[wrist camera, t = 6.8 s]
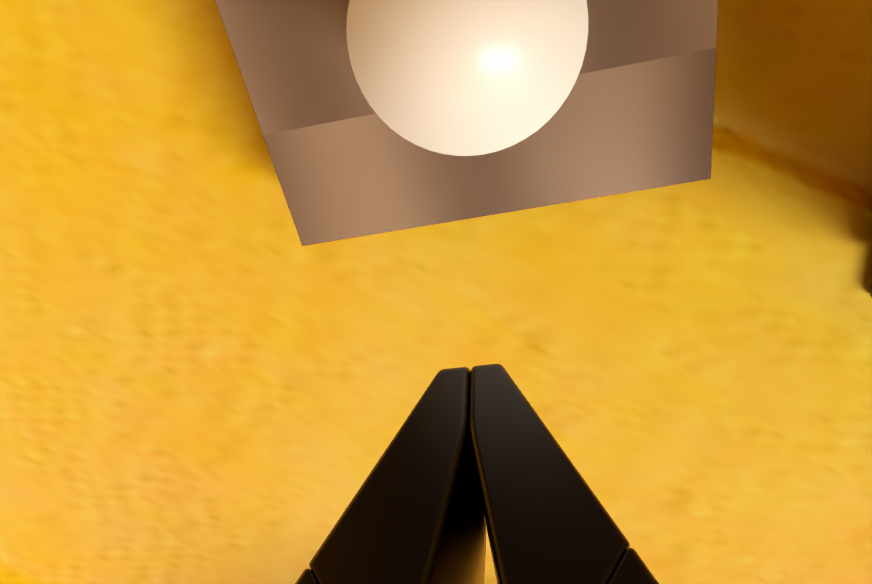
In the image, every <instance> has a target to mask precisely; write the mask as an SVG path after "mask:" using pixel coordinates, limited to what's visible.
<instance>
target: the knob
mask: <svg viewBox="0 0 872 584" xmlns="http://www.w3.org/2000/svg"><path fill="white" fill-rule="evenodd" d="M346 33H347V47H348V52H349V57H350V62H351V66H352V69H353V72H354V75H355V78H356V81H357V83H358V85H359V87H360V89H361V91H362V93H363V95H364V97H365V98H366V100H367V101H368V103H369V105H370V106H371V108H372V109H373V110H374V111H375V113H376V114H377V115H378V116H379V117H380V119H381V120H382V121H383V122H385V123H386V124H387V125H388V126H389V127H390V128H391V129H392V130H393V131H395V132H396V133H397V134H399V135H400V136H401V137H403V138H404V139H406V140H408V141H410V142H411V143H413V144H415V145H417V146H420V147H422V148H424V149H427V150H430V151H433V152H437V153H441V154H447V155H454V156H475V155H484V154H488V153H493V152H497V151H500V150H503V149H505V148H508V147H511V146H513V145H515V144H517V143H519V142H521V141H522V140H524V139H526V138H527V137H529V136H530V135H532V134H533V133H535V132H536V131H538V130H539V129H540V128H541V127H542V126H543V125H544V124H545V123H547V122H548V121H549V120H550V119H551V118H552V116H553V115H554V114H555V113H556V112H557V111H558V110H559V108H560V107H561V106H562V104H563V103H564V101H565V100H566V98H567V97H568V95H569V94H570V92H571V90H572V88H573V86H574V84H575V82H576V80H577V77H578V75H579V72H580V70H581V67H582V64H583V60H584V56H585V52H586V46H587V38H588V8H587V0H349V6H348V11H347V27H346Z"/></svg>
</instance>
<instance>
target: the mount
mask: <svg viewBox="0 0 872 584" xmlns="http://www.w3.org/2000/svg"><path fill="white" fill-rule="evenodd" d="M215 1H216V4H217V7H218V9H219V12H220V15H221V18H222V21H223V24H224V26H225V29H226V32H227V35H228V38H229V40H230V43H231V46H232V49H233V52H234V55H235V57H236V60H237V63H238V66H239V69H240V71H241V74H242V77H243V80H244V83H245V86H246V88H247V91H248V94H249V97H250V100H251V103H252V105H253V108H254V111H255V114H256V117H257V119H258V122H259V125H260V128H261V131H262V134H263V136H264V139H265V142H266V145H267V148H268V150H269V153H270V156H271V159H272V162H273V165H274V167H275V170H276V173H277V176H278V179H279V182H280V184H281V187H282V190H283V193H284V196H285V198H286V201H287V204H288V207H289V210H290V213H291V215H292V218H293V221H294V224H295V227H296V229H297V232H298V235H299V238H300V241H301V244H302V246H305V245H311V244H318V243H324V242H330V241H336V240H342V239H348V238H354V237H360V236H366V235H372V234H378V233H384V232H390V231H396V230H402V229H408V228H414V227H421V226H427V225H433V224H439V223H445V222H451V221H457V220H463V219H469V218H475V217H481V216H487V215H493V214H499V213H505V212H511V211H517V210H524V209H530V208H536V207H542V206H548V205H554V204H560V203H566V202H572V201H578V200H584V199H590V198H596V197H602V196H608V195H614V194H620V193H627V192H633V191H639V190H645V189H651V188H657V187H663V186H669V185H675V184H681V183H687V182H693V181H699V180H705V179H711V156H712V133H713V110H714V87H715V64H716V41H717V18H718V0H587V8H588V38H587V46H586V52H585V56H584V60H583V64H582V67H581V70H580V72H579V75H578V77H577V80H576V82H575V84H574V86H573V88H572V90H571V92H570V94H569V95H568V97H567V98H566V100H565V101H564V103H563V104H562V106H561V107H560V108H559V110H558V111H557V112H556V113H555V114H554V115H553V116H552V118H551V119H550V120H549V121H548V122H547V123H545V124H544V125H543V126H542V127H541V128H540V129H539V130H538V131H536V132H535V133H533V134H532V135H530V136H529V137H527V138H526V139H524V140H522V141H521V142H519V143H517V144H515V145H513V146H511V147H508V148H505V149H503V150H500V151H497V152H493V153H488V154H484V155H475V156H454V155H447V154H441V153H437V152H433V151H430V150H427V149H424V148H422V147H420V146H417V145H415V144H413V143H411V142H410V141H408V140H406V139H404V138H403V137H401V136H400V135H399V134H397V133H396V132H395V131H393V130H392V129H391V128H390V127H389V126H388V125H387V124H386V123H385V122H383V121H382V120H381V119H380V117H379V116H378V115H377V114H376V113H375V111H374V110H373V109H372V108H371V106H370V105H369V103H368V101H367V100H366V98H365V97H364V95H363V93H362V91H361V89H360V87H359V85H358V83H357V81H356V78H355V75H354V72H353V69H352V66H351V62H350V57H349V52H348V47H347V33H346V27H347V11H348V6H349V0H215Z"/></svg>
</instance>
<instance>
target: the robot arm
mask: <svg viewBox="0 0 872 584" xmlns="http://www.w3.org/2000/svg"><path fill="white" fill-rule="evenodd" d="M870 296H871V297H872V285H871V290H870ZM486 526H487V532H488V537H489V542H490V548H491V553H492V558H493V563H494V568H495V574H496V579H497V584H659V583H658V581H657V580H656V579H655V577H654V576H653V575H652V573H651V572H650V571H649V569H648V568H647V566H646V565H645V564H644V562H643V561H642V559H641V558H640V557H639V555H638V554H637V552H636V551H635V550H634V549H633V548H630V544H629V542H628V540H627V539H626V538H625V536H624V535H623V533H622V532H621V531H620V529H619V528H618V526H617V525H616V524H615V522H614V521H613V519H612V518H611V517H610V515H609V514H608V512H607V511H606V510H605V508H604V507H603V505H602V504H601V503H600V501H599V500H598V498H597V497H596V496H595V494H594V493H593V491H592V490H591V489H590V487H589V486H588V485H587V483H586V482H585V480H584V479H583V478H582V476H581V475H580V473H579V472H578V471H577V469H576V468H575V466H574V465H573V464H572V462H571V461H570V459H569V458H568V457H567V455H566V454H565V452H564V451H563V450H562V448H561V447H560V445H559V444H558V443H557V441H556V440H555V438H554V437H553V436H552V434H551V433H550V431H549V430H548V429H547V427H546V426H545V424H544V423H543V422H542V420H541V419H540V417H539V416H538V415H537V413H536V412H535V410H534V409H533V408H532V406H531V405H530V403H529V402H528V401H527V399H526V398H525V396H524V395H523V394H522V392H521V391H520V390H519V388H518V387H517V385H516V384H515V383H514V381H513V380H512V378H511V377H510V376H509V374H508V373H507V371H506V370H505V369H504V367H503V366H502V365H500V364H490V365H480V366H474V367H473V368H472V370H471V371H470V370H469V368H467V367H461V368H451V369H443V370H441V371H439V372H438V373H437V375H436V376H435V378H434V379H433V381H432V382H431V384H430V385H429V387H428V388H427V390H426V391H425V393H424V394H423V396H422V397H421V399H420V400H419V401H418V403H417V404H416V406H415V407H414V409H413V410H412V412H411V413H410V415H409V416H408V418H407V419H406V421H405V422H404V424H403V425H402V427H401V428H400V430H399V431H398V433H397V434H396V436H395V437H394V439H393V440H392V442H391V443H390V444H389V446H388V447H387V449H386V450H385V452H384V453H383V455H382V456H381V458H380V459H379V461H378V462H377V464H376V465H375V467H374V468H373V470H372V471H371V473H370V474H369V476H368V477H367V479H366V480H365V482H364V483H363V485H362V486H361V488H360V489H359V490H358V492H357V493H356V495H355V496H354V498H353V499H352V501H351V502H350V504H349V505H348V507H347V508H346V510H345V511H344V513H343V514H342V516H341V517H340V519H339V520H338V522H337V523H336V525H335V526H334V528H333V529H332V531H331V532H330V534H329V535H328V536H327V538H326V539H325V541H324V542H323V544H322V545H321V547H320V548H319V550H318V551H317V553H316V554H315V556H314V557H313V559H312V560H311V562H310V564H309V566H310V569H311V570H310V569H305V570H304V571H303V573H302V575H301V576H300V578H299V579H298V581H297V582H296V583H295V584H484V571H485V553H486Z"/></svg>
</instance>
